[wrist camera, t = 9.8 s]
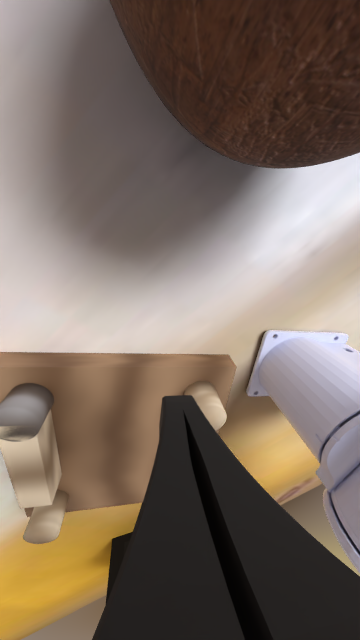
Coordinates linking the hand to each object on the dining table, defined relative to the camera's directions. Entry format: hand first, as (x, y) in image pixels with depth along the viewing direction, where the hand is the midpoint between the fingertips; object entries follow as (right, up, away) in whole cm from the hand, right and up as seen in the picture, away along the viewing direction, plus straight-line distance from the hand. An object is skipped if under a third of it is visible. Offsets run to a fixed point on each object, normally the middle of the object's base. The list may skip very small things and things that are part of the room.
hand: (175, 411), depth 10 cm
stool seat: (-6, -8, +13) cm, 16 cm away
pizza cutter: (-12, -6, +9) cm, 16 cm away
